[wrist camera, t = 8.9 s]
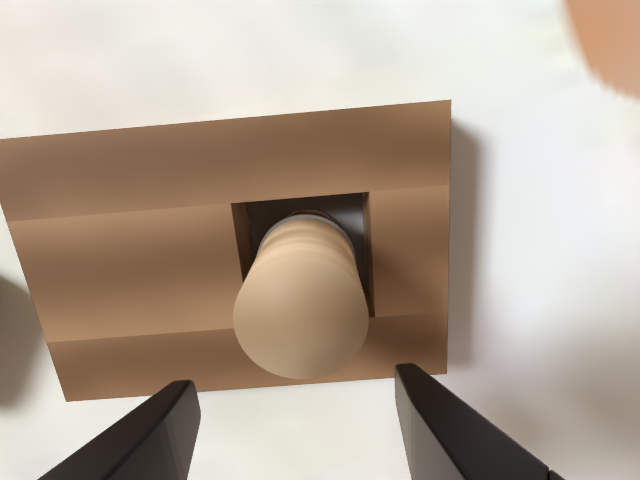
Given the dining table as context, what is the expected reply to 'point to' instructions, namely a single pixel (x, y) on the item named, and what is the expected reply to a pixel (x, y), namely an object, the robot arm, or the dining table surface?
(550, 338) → the dining table surface
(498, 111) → the dining table surface
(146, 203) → the seat board
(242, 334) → the peg
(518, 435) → the dining table surface
